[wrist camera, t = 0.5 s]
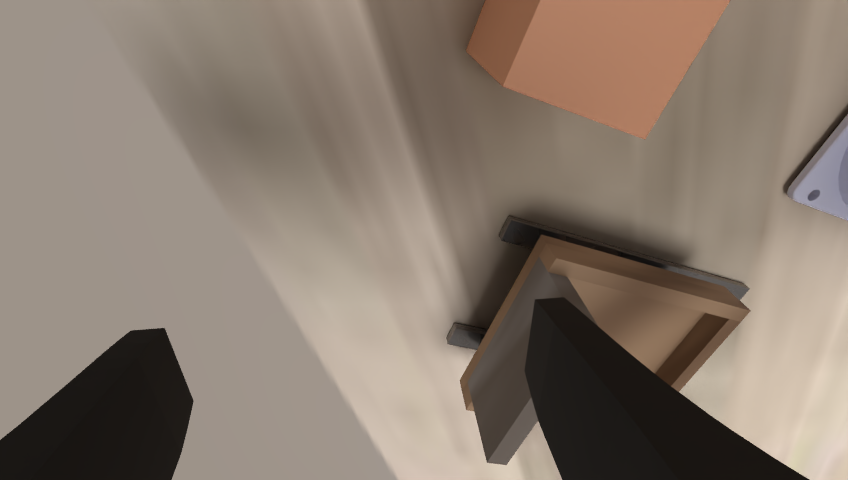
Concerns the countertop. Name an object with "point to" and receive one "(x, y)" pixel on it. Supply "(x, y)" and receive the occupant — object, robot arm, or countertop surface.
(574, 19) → the terracotta block
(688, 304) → the cart
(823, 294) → the countertop surface
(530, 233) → the rails
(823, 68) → the countertop surface
